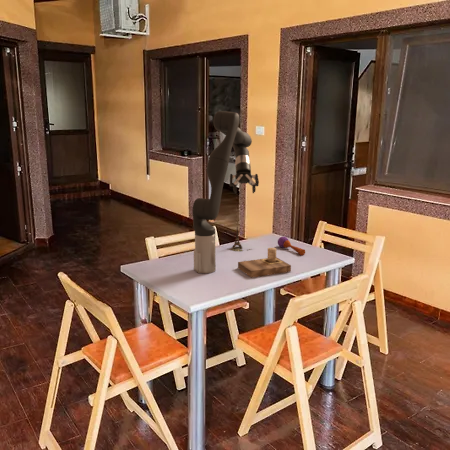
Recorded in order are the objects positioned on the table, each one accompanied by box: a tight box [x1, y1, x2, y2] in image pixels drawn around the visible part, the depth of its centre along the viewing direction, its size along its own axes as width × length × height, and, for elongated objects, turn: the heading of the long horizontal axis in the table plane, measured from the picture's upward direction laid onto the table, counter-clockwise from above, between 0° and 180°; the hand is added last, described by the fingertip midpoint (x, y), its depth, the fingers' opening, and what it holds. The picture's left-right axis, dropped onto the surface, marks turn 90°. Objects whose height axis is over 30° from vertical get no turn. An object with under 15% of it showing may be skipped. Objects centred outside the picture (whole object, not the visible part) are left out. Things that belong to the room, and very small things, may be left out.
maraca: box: [277, 236, 306, 256], centre depth 250 cm, size 6×6×20 cm
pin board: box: [237, 256, 292, 279], centre depth 219 cm, size 20×14×3 cm
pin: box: [267, 247, 277, 263], centre depth 222 cm, size 4×4×9 cm
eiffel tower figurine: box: [228, 225, 252, 252], centre depth 254 cm, size 15×10×13 cm
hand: (244, 192), depth 233 cm, fingers open, 8 cm apart
